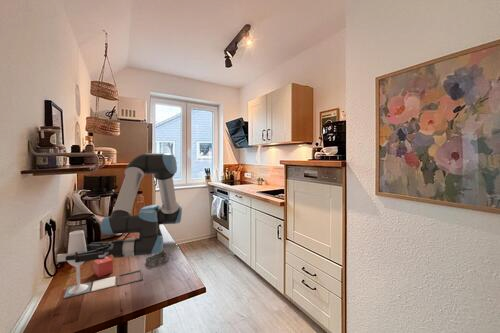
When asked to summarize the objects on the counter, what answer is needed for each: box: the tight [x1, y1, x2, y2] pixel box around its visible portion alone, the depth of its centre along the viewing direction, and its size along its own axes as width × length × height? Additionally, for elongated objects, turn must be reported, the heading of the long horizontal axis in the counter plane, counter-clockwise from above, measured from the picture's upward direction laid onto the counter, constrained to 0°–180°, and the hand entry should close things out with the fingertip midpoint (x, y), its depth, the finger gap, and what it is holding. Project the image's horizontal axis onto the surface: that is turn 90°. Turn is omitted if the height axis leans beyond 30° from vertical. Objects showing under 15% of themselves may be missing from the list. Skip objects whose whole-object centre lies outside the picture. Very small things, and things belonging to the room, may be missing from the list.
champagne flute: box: [66, 229, 89, 294], centre depth 93 cm, size 7×7×24 cm
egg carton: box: [145, 250, 169, 267], centre depth 119 cm, size 11×8×4 cm
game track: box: [62, 269, 144, 300], centre depth 98 cm, size 28×10×1 cm, turn 119°
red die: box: [93, 256, 114, 278], centre depth 108 cm, size 6×6×7 cm
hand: (63, 253), depth 92 cm, fingers open, 7 cm apart
